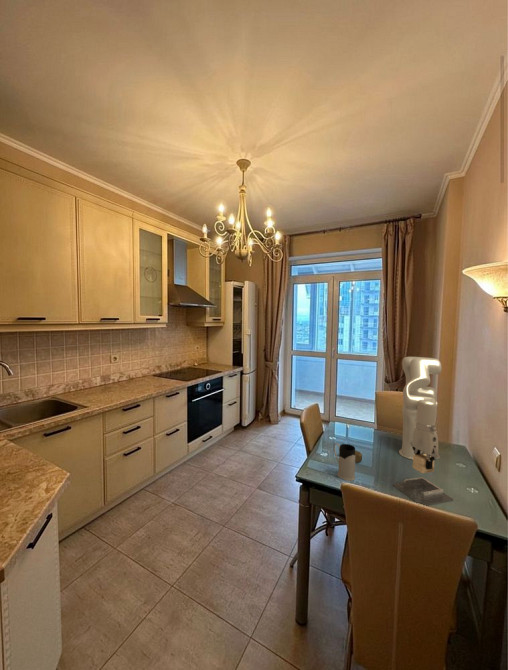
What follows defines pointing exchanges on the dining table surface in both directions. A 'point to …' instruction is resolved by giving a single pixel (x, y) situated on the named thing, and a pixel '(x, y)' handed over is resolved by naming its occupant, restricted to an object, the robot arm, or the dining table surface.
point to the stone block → (358, 456)
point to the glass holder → (346, 461)
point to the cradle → (422, 491)
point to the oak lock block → (421, 463)
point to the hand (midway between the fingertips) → (423, 465)
